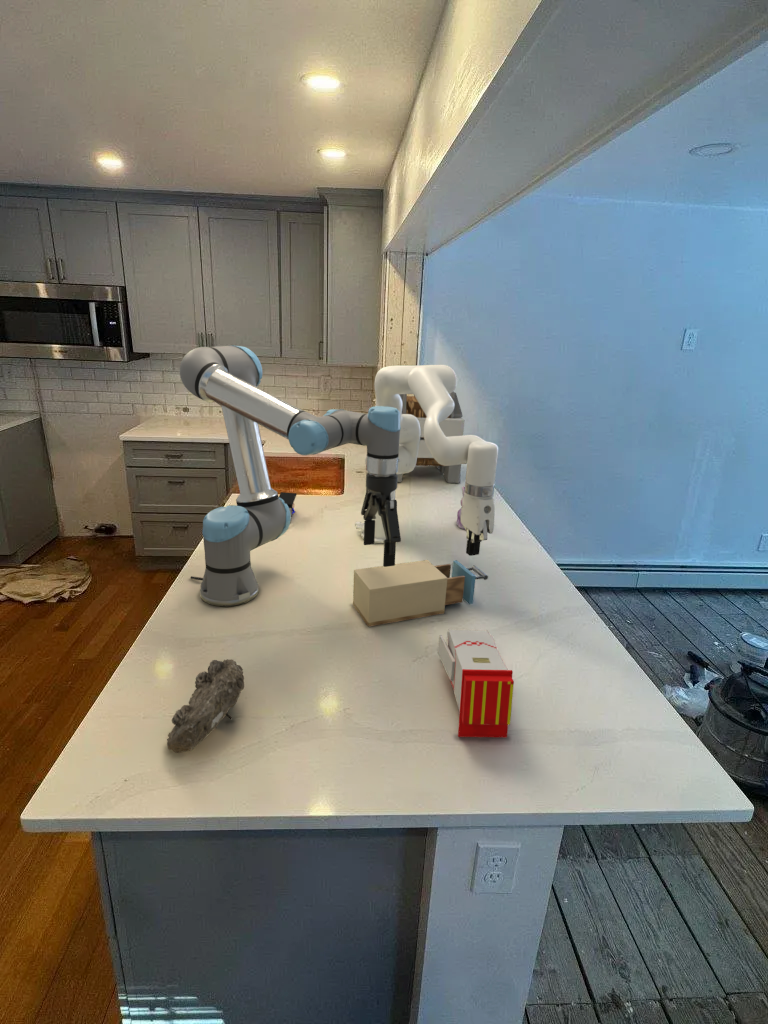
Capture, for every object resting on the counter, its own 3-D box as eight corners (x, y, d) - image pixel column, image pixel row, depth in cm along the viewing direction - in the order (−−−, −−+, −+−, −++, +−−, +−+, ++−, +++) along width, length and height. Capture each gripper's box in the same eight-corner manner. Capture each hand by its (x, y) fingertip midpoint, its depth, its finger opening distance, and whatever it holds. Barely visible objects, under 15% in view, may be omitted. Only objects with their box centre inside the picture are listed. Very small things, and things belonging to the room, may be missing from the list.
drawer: (470, 584, 163) (472, 557, 160) (489, 600, 154) (492, 573, 152) (389, 596, 154) (390, 569, 151) (405, 615, 145) (406, 586, 142)
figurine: (464, 531, 204) (468, 492, 199) (448, 522, 212) (452, 484, 207) (485, 528, 208) (490, 489, 203) (469, 519, 217) (473, 481, 212)
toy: (488, 613, 130) (523, 677, 101) (484, 667, 133) (517, 744, 104) (435, 612, 130) (455, 676, 101) (432, 666, 133) (451, 743, 103)
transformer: (382, 463, 289) (386, 382, 275) (445, 464, 293) (451, 384, 279) (390, 482, 257) (394, 392, 243) (460, 483, 261) (468, 394, 247)
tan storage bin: (424, 593, 159) (427, 559, 155) (444, 613, 149) (447, 577, 145) (352, 604, 151) (353, 569, 148) (368, 626, 141) (369, 589, 137)
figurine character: (292, 527, 205) (297, 509, 218) (292, 508, 201) (297, 491, 215) (273, 526, 205) (280, 508, 218) (273, 507, 201) (279, 490, 215)
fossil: (192, 660, 117) (244, 628, 112) (224, 691, 120) (276, 661, 115) (142, 746, 98) (202, 712, 93) (182, 779, 101) (242, 748, 96)
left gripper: (418, 487, 125) (413, 573, 133) (377, 458, 147) (374, 534, 154) (387, 489, 123) (383, 577, 130) (350, 460, 144) (348, 537, 151)
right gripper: (507, 497, 142) (499, 563, 148) (476, 480, 155) (470, 542, 161) (481, 499, 139) (474, 567, 145) (452, 482, 152) (447, 545, 158)
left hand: (378, 554), depth 142 cm, fingers open, 13 cm apart
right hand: (472, 553), depth 153 cm, fingers closed
